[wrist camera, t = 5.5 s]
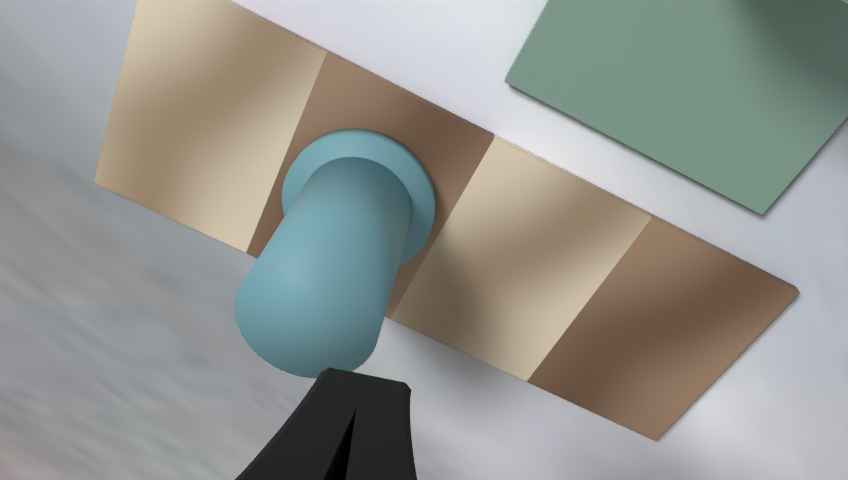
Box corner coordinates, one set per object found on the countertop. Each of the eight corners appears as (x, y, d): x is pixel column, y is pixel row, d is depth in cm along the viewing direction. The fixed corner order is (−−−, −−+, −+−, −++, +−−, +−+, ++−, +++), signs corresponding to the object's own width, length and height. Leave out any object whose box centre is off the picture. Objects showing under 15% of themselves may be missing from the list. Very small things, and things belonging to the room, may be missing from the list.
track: (796, 286, 20) (799, 292, 20) (654, 434, 24) (656, 441, 23) (151, -39, 18) (146, -37, 18) (99, 178, 21) (93, 182, 21)
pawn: (462, 172, 19) (441, 291, 14) (398, 285, 22) (359, 425, 16) (319, 101, 19) (243, 198, 14) (268, 224, 21) (185, 348, 16)
